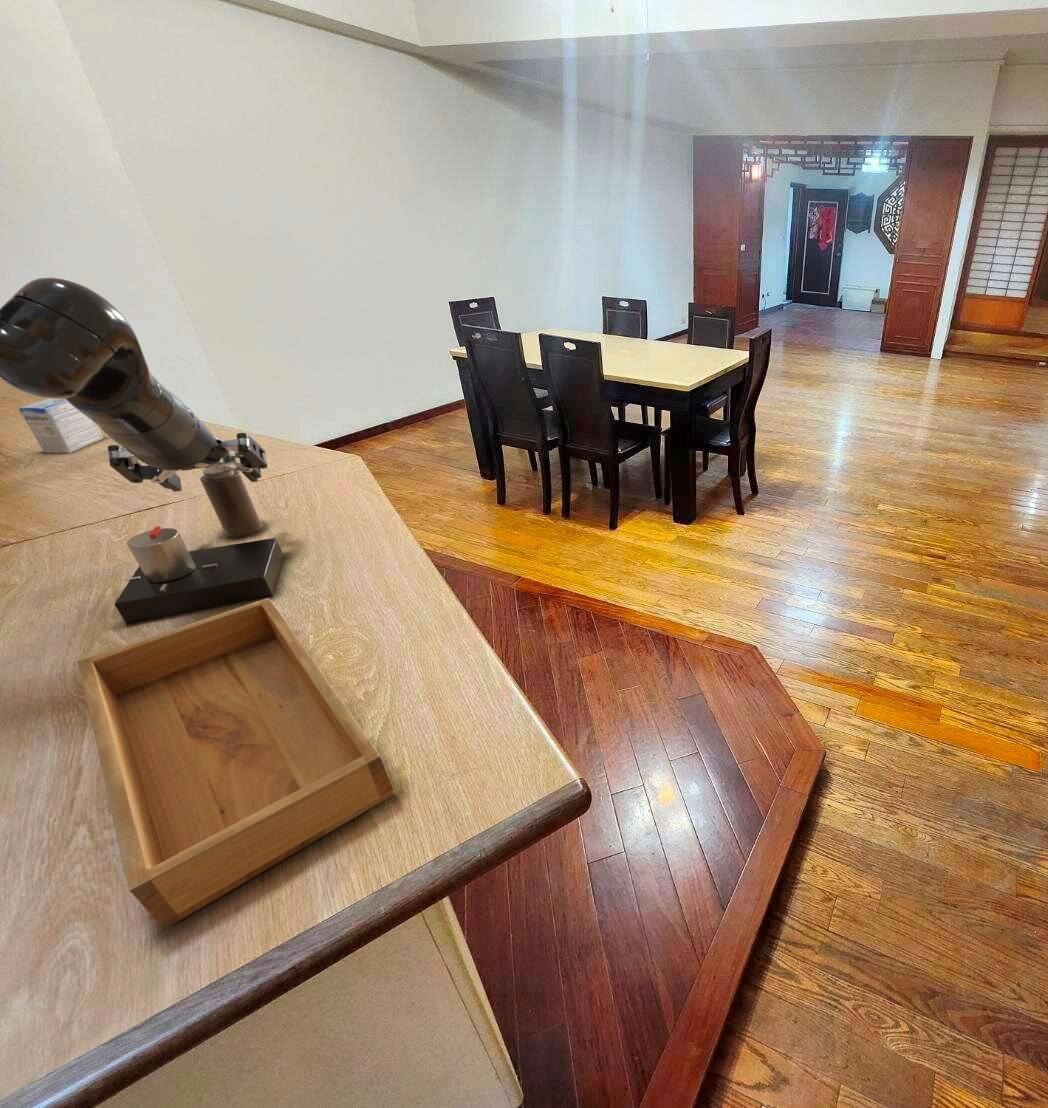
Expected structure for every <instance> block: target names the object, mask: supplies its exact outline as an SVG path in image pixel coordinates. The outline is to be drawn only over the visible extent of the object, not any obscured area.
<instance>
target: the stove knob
mask: <svg viewBox="0 0 1048 1108" xmlns="http://www.w3.org/2000/svg"><path fill="white" fill-rule="evenodd" d="M126 545H127V546H128V549H129V550H130V552H131V554H132V555H133V558H134V559H135V561H136V563H137V564H138V567H139V566H140V568H141V569H142V571H143V573H144V575H145V576H146V578H147V580H148V581H151V582H167V581H171V580H175V579H178V578H181V577H184V576H186V575H188V574H190V573H191V572H192V571H193V570H194V569H195V567H196V565H195V563H194V561H193V559H192V557H191V556H190V554H189V550H188V547H187V546H186V544H185V542H184V539H183V538H182V536H181V534H180V532H179V530H177V528H171V527H161V526H159V525H158V526H154V527H153V528H152V529H150V530H147V531H143V532H140V533H138V534H136V535H134V536H131V538H129V539H128V540H127V543H126Z"/></svg>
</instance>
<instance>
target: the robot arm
mask: <svg viewBox="0 0 1048 1108" xmlns="http://www.w3.org/2000/svg"><path fill="white" fill-rule="evenodd" d="M0 380H1V381H3V382H4V383H5V384H7V385H9V386H10V387H13V388H15V389H16V390H19V391H21V392H23V393H26V394H28V395H32V396H36V397H38V398H39V397H40V398H45V399H49V398H53V399H66V400H67V401H68V402H69V403H70V404H71V405H72V406H74V407H75V408H76V409H77V410H79V411H80V412H81V413H83V414H84V415H85V416H87V417H88V418H89V419H91V420H92V421H93V422H95V424H96V426H97V427H99V428H100V430H102V432H104V434H105V435H107V437H108V438H110V439H111V440H113V441H114V442H116V444H110V445H107V453H108V461H109V462H108V463H109V466H110V467H111V468H112V469H113V470H115V471H116V472H117V473H118V474H119V475H121V476H122V477H123V478H124V479H126V480H127V481H128V482H130V483H132V484H141V483H144V480H146V481H147V480H149V481H150V482H151V483H154V484H158V485H160V486H161V487H163V488H164V489H167V490H171V491H173V492H175V493H177V492H182V490H183V487H182V482H181V477H180V476H179V475H178V474H177V472H180V471H192V470H195V469H206V468H212V469H217V470H222V471H227V472H229V471H231V470H237V471H239V472H241V473H242V474H243V476H245V478H246V479H248V480H249V481H250V482H251V483H256V482H259V479H262V472H261V469H267V468H269V467H268V463H267V458H266V450H265V449H264V448H263V446H261V445H260V444H259V443H258V442H257V441H256V440H255V439H253V437H252V436H251V435H250V434H249V433H246V432H238V433H236V439H230V440H229V439H227V440H223V439H222V438H221V437H217V436H215V435H213V433H212V432H211V430H210V429H209V428H208V427H207V426H206V424H205V423H204V422H203V421H201V419H200V418H199V417H198V416H197V415H196V414H195V413H194V412H193V411H192V409H191V408H190V407H188V405H186V404H185V403H184V402H183V401H182V400H181V399H180V398H179V397H178V396H176V394H174V393H173V392H172V391H170V390H168V389H167V388H166V387H165V386H164V385H163V384H162V383H161V382H160V381H159V380H158V379H157V378H156V377H155V376H154V375H153V374H152V373H151V372H150V368H149V364H148V363H147V360H146V357H145V354H144V352H143V349H142V347H141V343H140V342H139V339H138V337H137V335H136V333H135V331H134V328H133V327H132V326H131V324H130V323H129V321H128V320H127V319H126V317H125V316H124V315H123V314H122V313H121V312H120V310H118V309H117V308H116V306H114V305H113V304H112V303H111V302H109V300H108V299H106V298H105V297H104V296H102V295H101V294H99V293H97V292H96V291H94V290H93V289H91V288H89V287H87V286H84V284H83V285H82V284H80V283H77V282H75V281H71V280H68V279H64V278H57V277H39V278H36V279H33V280H30V281H29V282H28V283H26V284H24V285H23V286H22V287H21V288H20V289H18V290H17V291H16V292H15V293H14V295H12V297H10V298H9V299H8V300H7V301H6V302H5V303H4V304H3V305H2V306H1V307H0ZM236 458H237V459H239V462H237V459H236ZM221 460H222V461H221ZM139 461H140V462H139ZM142 463H143V464H145V465H142Z"/></svg>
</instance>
